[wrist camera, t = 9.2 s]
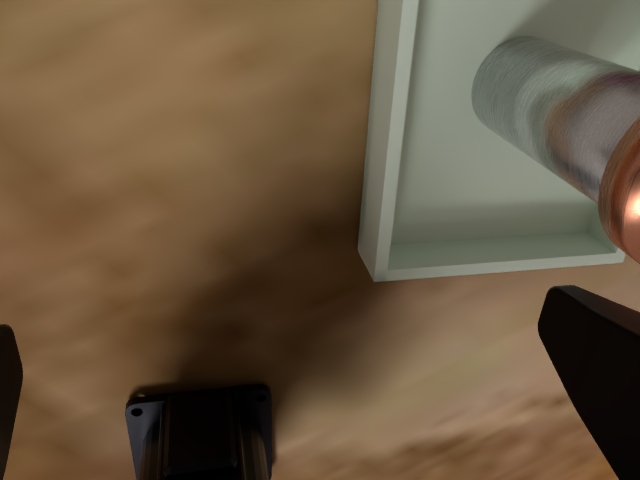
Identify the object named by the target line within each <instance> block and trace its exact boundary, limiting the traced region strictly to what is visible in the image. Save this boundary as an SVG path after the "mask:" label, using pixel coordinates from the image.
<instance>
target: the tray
mask: <svg viewBox="0 0 640 480" xmlns="http://www.w3.org/2000/svg"><path fill="white" fill-rule="evenodd" d="M521 36H532V37H537V38H540V39H543V40H546V41H549V42H552V43H555V44H558V45H561V46H564V47H568V48H571V49H574V50H577V51H580V52H583V53H586V54H589V55H592V56H595V57H598V58H601V59H604V60H607V61H610V62H613V63H616V64H619V65H622V66H625V67H628V68H631V69H634V70H637V71H640V0H378V10H377V22H376V34H375V46H374V57H373V69H372V81H371V93H370V105H369V117H368V129H367V141H366V153H365V165H364V177H363V189H362V201H361V213H360V225H359V237H358V248H357V250H358V252H359V254H360V256H361V258H362V260H363V262H364V264H365V266H366V268H367V270H368V272H369V274H370V276H371V278H372V280H373V281H374V282H382V281H395V280H407V279H420V278H433V277H446V276H459V275H471V274H484V273H497V272H510V271H523V270H535V269H548V268H561V267H574V266H586V265H599V264H612V263H623V261H624V258H625V255H626V253H625V252H623V251H622V250H621V249H619V248H618V247H617V246H615V245H614V244H613V243H612V242H611V241H610V240H609V238H608V237H607V235H606V234H605V232H604V230H603V228H602V225H601V222H600V218H599V212H598V204H597V203H596V202H594V201H593V200H591V199H590V198H588V197H587V196H585V195H584V194H583V193H581V192H580V191H578V190H577V189H575V188H574V187H572V186H571V185H569V184H568V183H567V182H565V181H564V180H562V179H561V178H559V177H558V176H556V175H555V174H554V173H552V172H551V171H549V170H548V169H546V168H545V167H543V166H542V165H540V164H539V163H538V162H536V161H535V160H533V159H532V158H530V157H529V156H527V155H526V154H524V153H523V152H522V151H520V150H519V149H517V148H516V147H514V146H513V145H511V144H510V143H509V142H507V141H506V140H504V139H503V138H501V137H500V136H498V135H497V134H495V133H494V132H493V131H491V130H490V129H488V128H487V127H486V126H484V125H483V124H482V123H481V122H480V121H479V119H478V118H477V116H476V114H475V112H474V109H473V106H472V98H471V93H472V85H473V81H474V78H475V75H476V73H477V71H478V69H479V67H480V65H481V64H482V62H483V61H484V59H485V58H486V57H487V56H488V55H489V54H490V53H491V52H492V51H493V50H494V49H495V48H496V47H498V46H499V45H501V44H502V43H504V42H506V41H508V40H510V39H513V38H516V37H521Z"/></svg>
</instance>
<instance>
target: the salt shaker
mask: <svg viewBox="0 0 640 480" xmlns="http://www.w3.org/2000/svg"><path fill="white" fill-rule="evenodd" d="M471 98H472V106H473V109H474V112H475V114H476V116H477V118H478V119H479V121H480V122H481V123H482V124H483V125H484V126H486V127H487V128H488V129H490V130H491V131H493V132H494V133H495V134H497V135H498V136H500V137H501V138H503V139H504V140H506V141H507V142H509V143H510V144H511V145H513V146H514V147H516V148H517V149H519V150H520V151H522V152H523V153H524V154H526V155H527V156H529V157H530V158H532V159H533V160H535V161H536V162H538V163H539V164H540V165H542V166H543V167H545V168H546V169H548V170H549V171H551V172H552V173H554V174H555V175H556V176H558V177H559V178H561V179H562V180H564V181H565V182H567V183H568V184H569V185H571V186H572V187H574V188H575V189H577V190H578V191H580V192H581V193H583V194H584V195H585V196H587V197H588V198H590V199H591V200H593V201H594V202H596V203H597V204H598V212H599V218H600V222H601V225H602V228H603V230H604V232H605V234H606V235H607V237H608V238H609V240H610V241H611V242H612V243H613V244H614V245H615V246H617V247H618V248H619V249H621V250H622V251H623V252H625V253H626V254H627V255H629V256H630V257H631V258H633V259H634V260H635V261H636V262H638V263H639V264H640V71H637V70H634V69H631V68H628V67H625V66H622V65H619V64H616V63H613V62H610V61H607V60H604V59H601V58H598V57H595V56H592V55H589V54H586V53H583V52H580V51H577V50H574V49H571V48H568V47H564V46H561V45H558V44H555V43H552V42H549V41H546V40H543V39H540V38H537V37H532V36H521V37H516V38H513V39H510V40H508V41H506V42H504V43H502V44H501V45H499V46H498V47H496V48H495V49H494V50H493V51H492V52H491V53H490V54H489V55H488V56H487V57H486V58H485V59H484V61H483V62H482V64H481V65H480V67H479V69H478V71H477V73H476V75H475V78H474V81H473V85H472V93H471Z"/></svg>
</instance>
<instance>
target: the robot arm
mask: <svg viewBox="0 0 640 480" xmlns="http://www.w3.org/2000/svg"><path fill="white" fill-rule="evenodd" d="M538 333H539V336H540V338H541V340H542V343H543V345H544V347H545V349H546V351H547V353H548V355H549V357H550V359H551V361H552V363H553V365H554V367H555V369H556V371H557V373H558V375H559V377H560V379H561V381H562V383H563V386H564V388H565V390H566V392H567V394H568V396H569V398H570V400H571V401H572V403H573V405H574V407H575V409H576V411H577V412H578V414H579V416H580V417H581V419H582V421H583V422H584V424H585V426H586V427H587V429H588V430H589V432H590V434H591V435H592V437H593V438H594V440H595V442H596V443H597V445H598V447H599V448H600V450H601V451H602V453H603V455H604V456H605V458H606V459H607V461H608V463H609V464H610V466H611V468H612V469H613V471H614V472H615V474H616V476H617V477H618V479H619V480H640V312H638V311H635V310H633V309H630V308H628V307H626V306H623V305H621V304H618V303H616V302H613V301H611V300H609V299H606V298H604V297H601V296H599V295H596V294H594V293H592V292H589V291H587V290H584V289H582V288H579V287H577V286H574V285H564V286H553V287H552V288H550V289H549V290H548V292H547V294H546V298H545V301H544V304H543V308H542V311H541V314H540V318H539V321H538ZM22 381H23V368H22V363H21V359H20V355H19V351H18V347H17V344H16V340H15V336H14V332H13V330H12V328H11V327H10V326H9V325H7V324H1V325H0V480H3V477H4V473H5V468H6V464H7V459H8V454H9V449H10V444H11V439H12V433H13V428H14V423H15V418H16V413H17V408H18V402H19V397H20V392H21V387H22ZM259 394H263V395H262V396H257V395H259ZM135 408H140V410H135ZM125 416H126V421H127V427H128V433H129V439H130V444H131V450H132V456H133V462H134V467H135V473H136V479H137V480H270V479H271V476H272V460H271V392H270V388H269V387H268V386H267V385H265V384H254V385H245V386H236V387H227V388H218V389H209V390H200V391H191V392H182V393H173V394H164V395H155V396H145V397H136V398H132V399H131V400H129V401H128V402H127V404H126V410H125Z"/></svg>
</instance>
